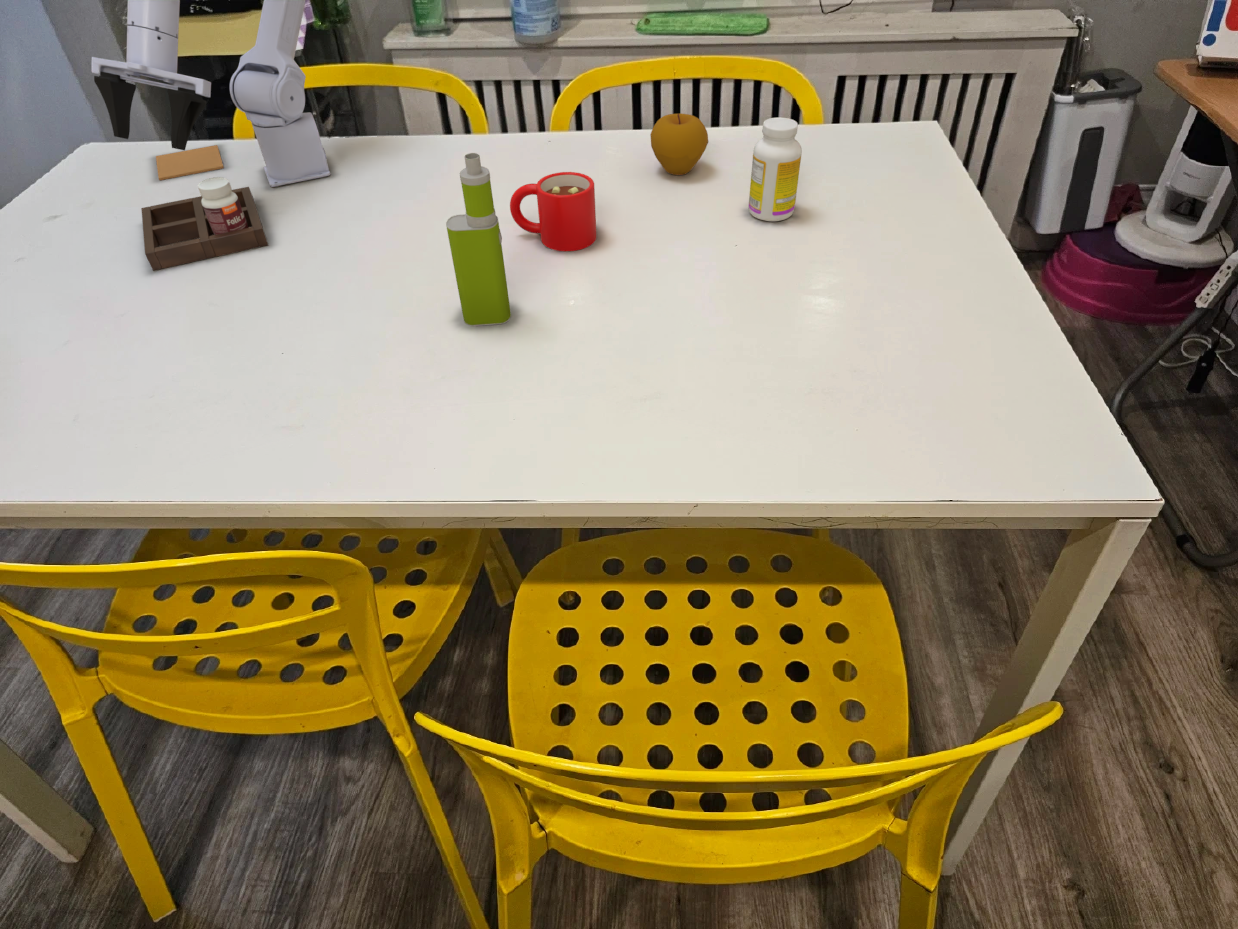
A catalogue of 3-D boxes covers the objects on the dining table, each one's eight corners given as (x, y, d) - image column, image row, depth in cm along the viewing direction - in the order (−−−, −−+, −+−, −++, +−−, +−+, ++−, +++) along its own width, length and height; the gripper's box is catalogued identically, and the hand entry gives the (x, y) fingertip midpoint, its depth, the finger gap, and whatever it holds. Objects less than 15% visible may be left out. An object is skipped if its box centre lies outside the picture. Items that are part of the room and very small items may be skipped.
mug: (518, 223, 116) (511, 170, 110) (599, 224, 115) (597, 171, 109) (507, 249, 110) (500, 195, 105) (593, 251, 109) (590, 197, 104)
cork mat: (218, 146, 139) (217, 144, 138) (223, 168, 132) (223, 165, 132) (156, 158, 136) (155, 155, 135) (159, 180, 129) (158, 178, 129)
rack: (254, 202, 122) (248, 186, 121) (268, 245, 112) (262, 228, 111) (148, 224, 118) (141, 207, 116) (153, 270, 108) (144, 253, 106)
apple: (703, 158, 131) (706, 102, 124) (709, 182, 124) (713, 123, 118) (648, 160, 130) (648, 104, 124) (652, 184, 124) (652, 125, 118)
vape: (512, 323, 97) (490, 161, 83) (462, 326, 96) (432, 165, 83) (512, 306, 99) (491, 147, 86) (464, 309, 99) (435, 151, 85)
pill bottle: (241, 248, 112) (219, 191, 106) (210, 246, 113) (187, 189, 107) (258, 232, 115) (238, 176, 109) (229, 230, 116) (207, 174, 110)
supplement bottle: (798, 206, 117) (811, 118, 108) (786, 226, 113) (798, 135, 104) (755, 199, 119) (764, 111, 111) (741, 218, 115) (749, 128, 106)
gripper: (75, 12, 98) (75, 128, 102) (192, 36, 99) (188, 150, 102) (111, 27, 105) (109, 135, 109) (221, 49, 106) (215, 156, 109)
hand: (149, 143), depth 106 cm, fingers open, 7 cm apart
